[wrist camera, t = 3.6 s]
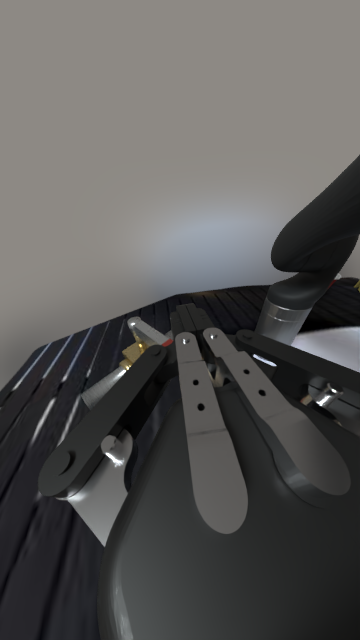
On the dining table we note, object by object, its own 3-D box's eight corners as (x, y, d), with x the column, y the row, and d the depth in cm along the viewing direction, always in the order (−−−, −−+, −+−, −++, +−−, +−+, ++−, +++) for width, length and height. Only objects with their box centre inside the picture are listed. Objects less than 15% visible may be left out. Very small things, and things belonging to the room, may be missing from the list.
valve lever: (129, 332, 33) (124, 320, 31) (139, 326, 34) (136, 314, 32) (202, 391, 21) (203, 378, 19) (213, 378, 23) (215, 365, 21)
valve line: (176, 332, 51) (173, 301, 43) (192, 342, 47) (191, 309, 39) (88, 399, 34) (58, 366, 26) (100, 422, 30) (68, 391, 22)
